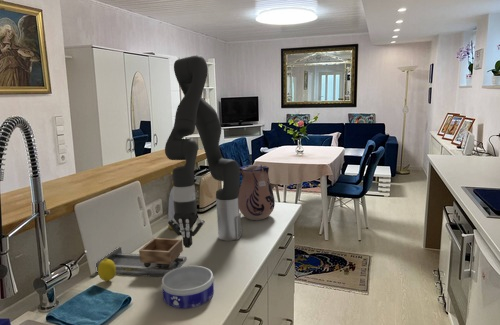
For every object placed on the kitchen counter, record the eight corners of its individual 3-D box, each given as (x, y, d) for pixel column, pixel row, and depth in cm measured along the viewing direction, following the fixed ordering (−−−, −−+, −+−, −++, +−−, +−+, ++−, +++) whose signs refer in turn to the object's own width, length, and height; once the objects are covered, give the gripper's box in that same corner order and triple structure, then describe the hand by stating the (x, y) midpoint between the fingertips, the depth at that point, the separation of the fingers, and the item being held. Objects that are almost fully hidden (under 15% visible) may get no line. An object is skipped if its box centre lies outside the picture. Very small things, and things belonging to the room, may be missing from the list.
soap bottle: (197, 226, 171) (193, 170, 166) (174, 232, 165) (169, 174, 160) (187, 220, 180) (183, 167, 175) (164, 225, 174) (159, 170, 169)
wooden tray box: (183, 255, 135) (182, 239, 134) (170, 269, 125) (169, 252, 124) (155, 254, 138) (154, 238, 137) (140, 267, 127) (139, 250, 126)
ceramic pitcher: (276, 222, 171) (274, 169, 166) (230, 224, 172) (227, 171, 167) (274, 211, 188) (272, 162, 184) (232, 212, 189) (229, 164, 184)
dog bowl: (221, 285, 118) (220, 267, 117) (201, 312, 104) (200, 292, 102) (178, 280, 122) (176, 263, 121) (153, 306, 108) (151, 286, 107)
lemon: (102, 277, 126) (99, 255, 124) (119, 276, 126) (116, 254, 125) (97, 286, 120) (94, 263, 119) (114, 284, 121) (111, 261, 119)
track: (186, 259, 137) (185, 250, 137) (170, 277, 124) (169, 268, 123) (118, 255, 143) (117, 247, 143) (96, 272, 130) (95, 263, 129)
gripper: (207, 195, 127) (209, 243, 130) (171, 194, 130) (174, 241, 133) (199, 201, 120) (202, 252, 123) (161, 200, 123) (165, 250, 126)
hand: (187, 246), depth 128 cm, fingers closed
